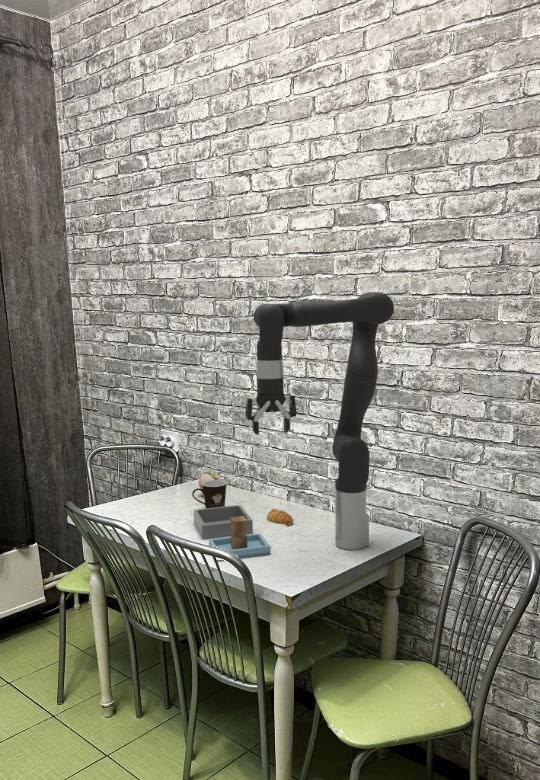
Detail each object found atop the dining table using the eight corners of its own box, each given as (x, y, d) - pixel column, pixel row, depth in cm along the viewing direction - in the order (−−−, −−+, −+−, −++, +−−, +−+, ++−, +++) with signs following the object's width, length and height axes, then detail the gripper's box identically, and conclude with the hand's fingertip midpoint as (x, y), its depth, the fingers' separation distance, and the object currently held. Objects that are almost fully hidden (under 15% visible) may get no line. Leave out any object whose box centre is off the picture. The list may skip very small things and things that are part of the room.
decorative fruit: (194, 496, 240) (193, 470, 238) (209, 491, 246) (208, 466, 245) (211, 501, 234) (210, 474, 232) (226, 495, 240) (226, 470, 239)
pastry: (298, 523, 209) (298, 512, 208) (284, 529, 204) (284, 517, 204) (278, 517, 216) (277, 506, 215) (264, 522, 211) (263, 511, 210)
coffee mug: (229, 507, 227) (228, 480, 225) (225, 514, 218) (224, 486, 217) (197, 506, 228) (196, 479, 226) (192, 514, 219) (191, 486, 218)
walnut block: (244, 545, 188) (243, 516, 187) (247, 550, 184) (246, 520, 183) (231, 546, 187) (230, 517, 186) (234, 551, 183) (233, 521, 182)
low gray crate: (241, 518, 214) (240, 504, 213) (252, 535, 198) (252, 519, 198) (194, 524, 209) (193, 509, 209) (202, 541, 194) (202, 525, 193)
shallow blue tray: (260, 541, 193) (260, 533, 193) (270, 554, 183) (270, 546, 183) (209, 547, 189) (208, 539, 189) (216, 561, 179) (215, 553, 178)
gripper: (248, 379, 170) (250, 437, 172) (298, 376, 174) (299, 433, 176) (242, 376, 177) (243, 432, 180) (290, 373, 181) (291, 428, 183)
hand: (271, 433), depth 178 cm, fingers open, 8 cm apart
